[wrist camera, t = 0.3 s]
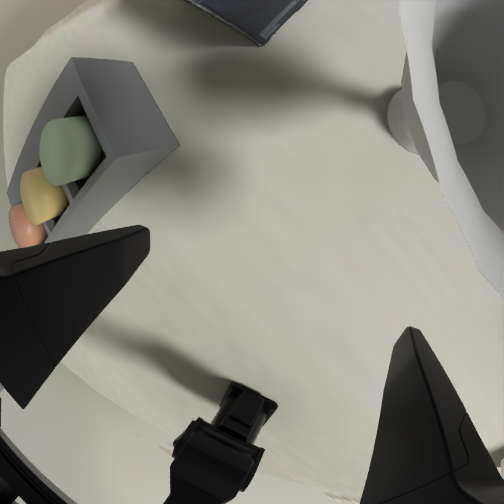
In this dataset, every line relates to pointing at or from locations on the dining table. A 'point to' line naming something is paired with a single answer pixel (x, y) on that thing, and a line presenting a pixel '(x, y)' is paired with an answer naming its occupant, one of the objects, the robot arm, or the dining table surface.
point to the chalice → (458, 115)
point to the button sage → (69, 150)
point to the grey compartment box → (109, 135)
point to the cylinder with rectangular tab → (502, 468)
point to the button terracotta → (25, 228)
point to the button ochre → (41, 197)
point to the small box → (251, 15)
